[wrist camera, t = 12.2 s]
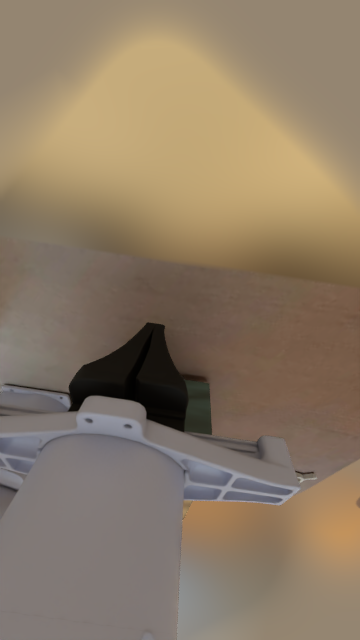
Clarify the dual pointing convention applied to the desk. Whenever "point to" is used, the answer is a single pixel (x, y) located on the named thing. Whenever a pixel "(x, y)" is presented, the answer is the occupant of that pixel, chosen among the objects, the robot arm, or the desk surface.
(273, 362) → the desk surface
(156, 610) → the robot arm
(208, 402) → the drawer
